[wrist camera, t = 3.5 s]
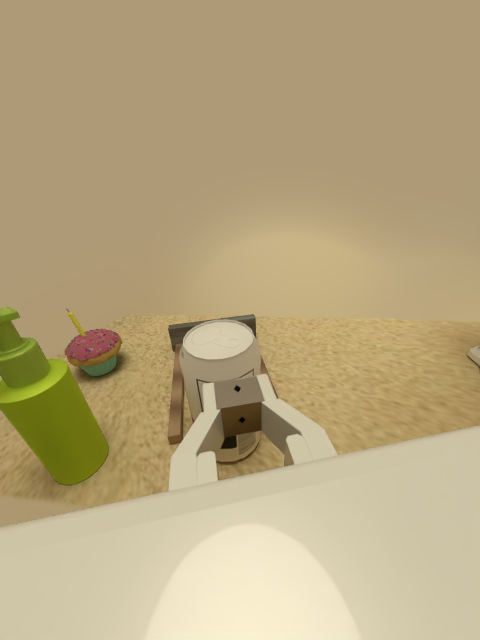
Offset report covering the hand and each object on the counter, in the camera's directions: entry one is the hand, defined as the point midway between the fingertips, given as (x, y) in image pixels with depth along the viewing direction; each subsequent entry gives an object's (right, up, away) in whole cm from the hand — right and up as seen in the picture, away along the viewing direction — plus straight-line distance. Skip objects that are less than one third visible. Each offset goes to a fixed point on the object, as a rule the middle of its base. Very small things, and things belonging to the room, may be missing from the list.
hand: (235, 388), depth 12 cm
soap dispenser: (-19, -14, +18) cm, 30 cm away
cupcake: (-25, -6, +33) cm, 42 cm away
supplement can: (-1, -12, +20) cm, 24 cm away
